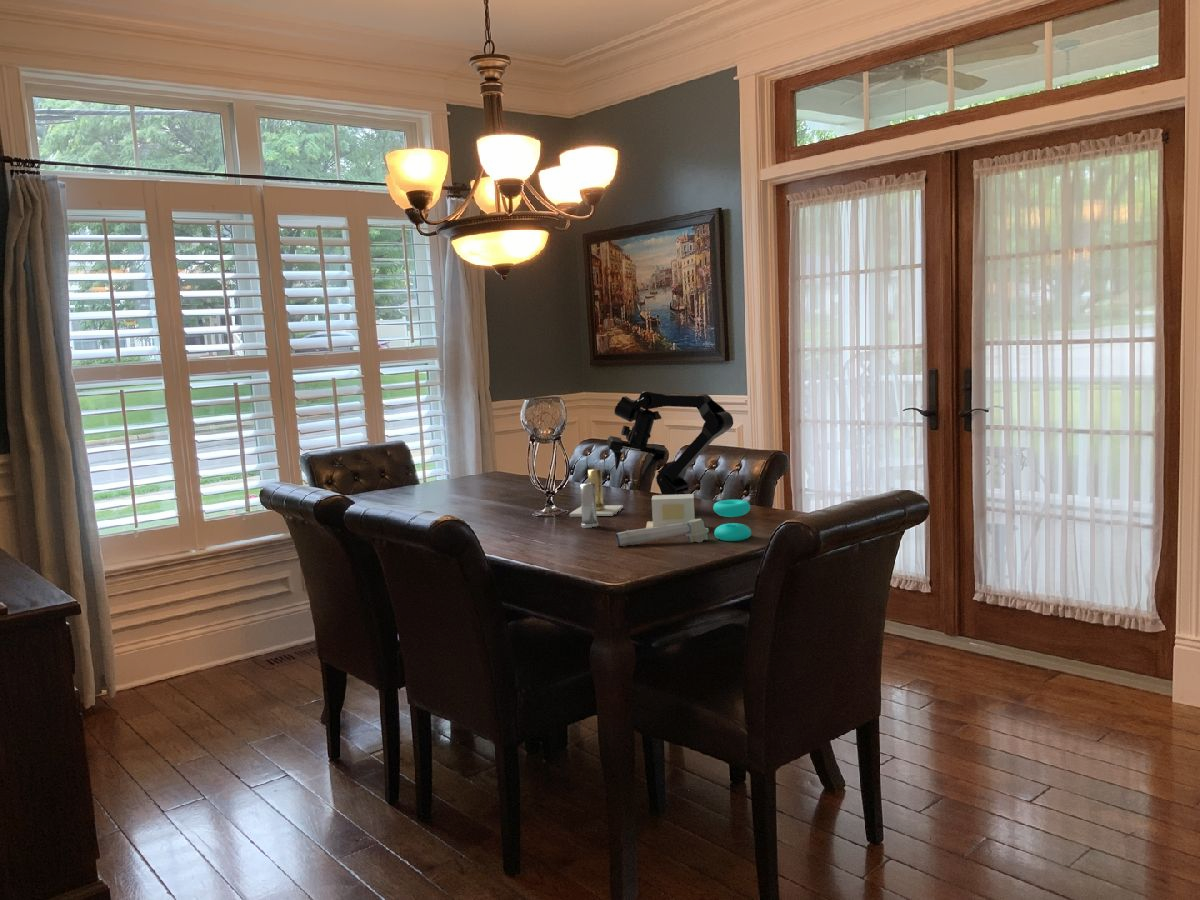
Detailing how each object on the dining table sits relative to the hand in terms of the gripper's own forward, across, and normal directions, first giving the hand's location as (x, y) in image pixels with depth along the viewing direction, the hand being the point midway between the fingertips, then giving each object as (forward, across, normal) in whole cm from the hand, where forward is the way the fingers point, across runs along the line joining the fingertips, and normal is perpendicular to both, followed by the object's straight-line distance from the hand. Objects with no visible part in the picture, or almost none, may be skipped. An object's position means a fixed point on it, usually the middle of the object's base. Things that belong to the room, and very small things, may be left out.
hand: (629, 471), depth 309 cm
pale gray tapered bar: (-2, +2, +54) cm, 54 cm away
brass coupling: (+13, +8, +4) cm, 16 cm away
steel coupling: (+10, +15, +25) cm, 31 cm away
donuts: (-8, -16, +56) cm, 59 cm away
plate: (+14, +8, +4) cm, 17 cm away
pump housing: (0, -6, +37) cm, 38 cm away
